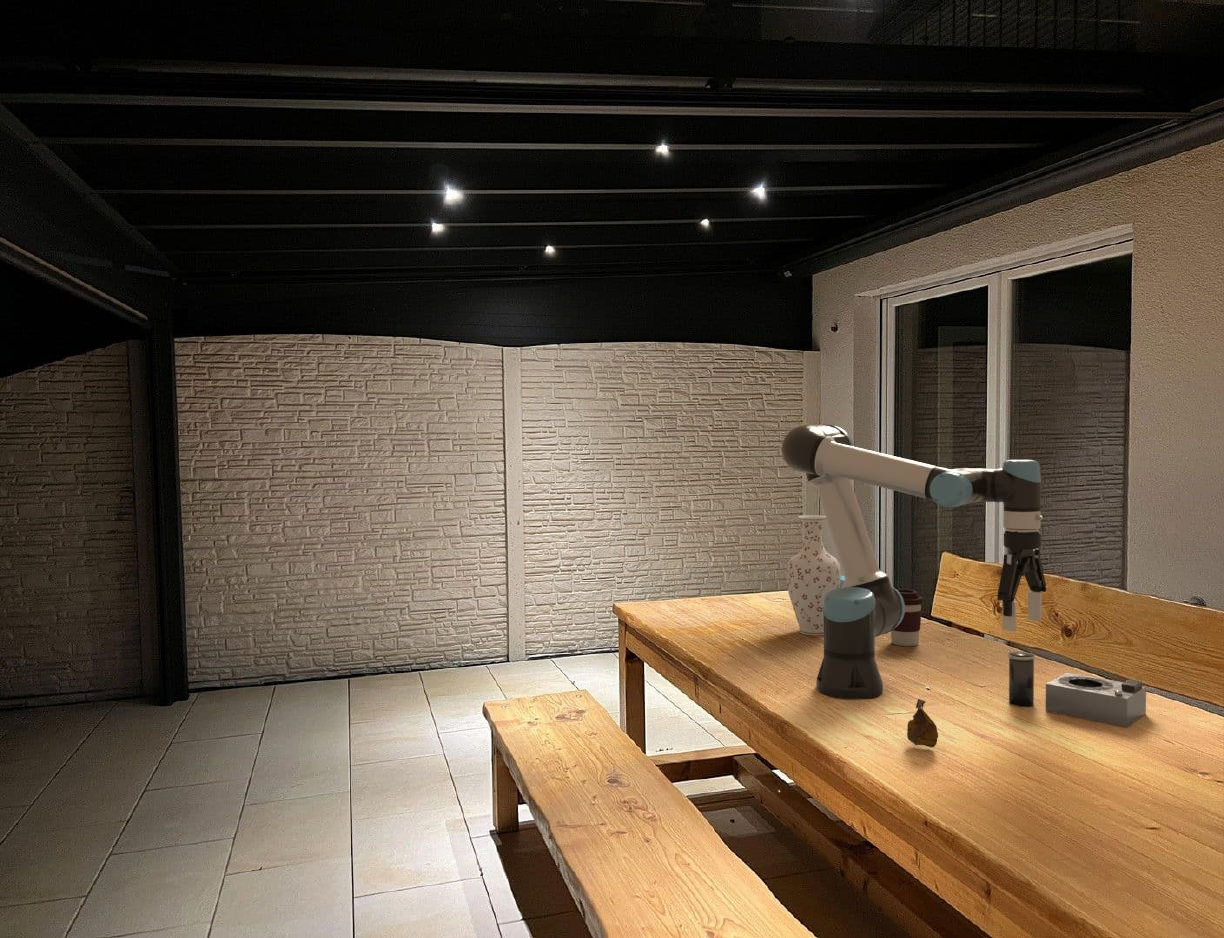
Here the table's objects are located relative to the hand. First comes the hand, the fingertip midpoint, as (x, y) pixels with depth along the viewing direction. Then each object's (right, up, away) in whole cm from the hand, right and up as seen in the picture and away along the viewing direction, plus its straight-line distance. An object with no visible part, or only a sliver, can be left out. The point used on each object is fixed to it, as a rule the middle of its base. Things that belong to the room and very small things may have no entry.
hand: (1022, 625), depth 202 cm
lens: (0, -17, +1) cm, 17 cm away
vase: (-30, -15, +73) cm, 80 cm away
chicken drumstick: (-31, -20, -25) cm, 45 cm away
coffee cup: (-8, -15, +57) cm, 59 cm away
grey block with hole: (+13, -18, -6) cm, 23 cm away
